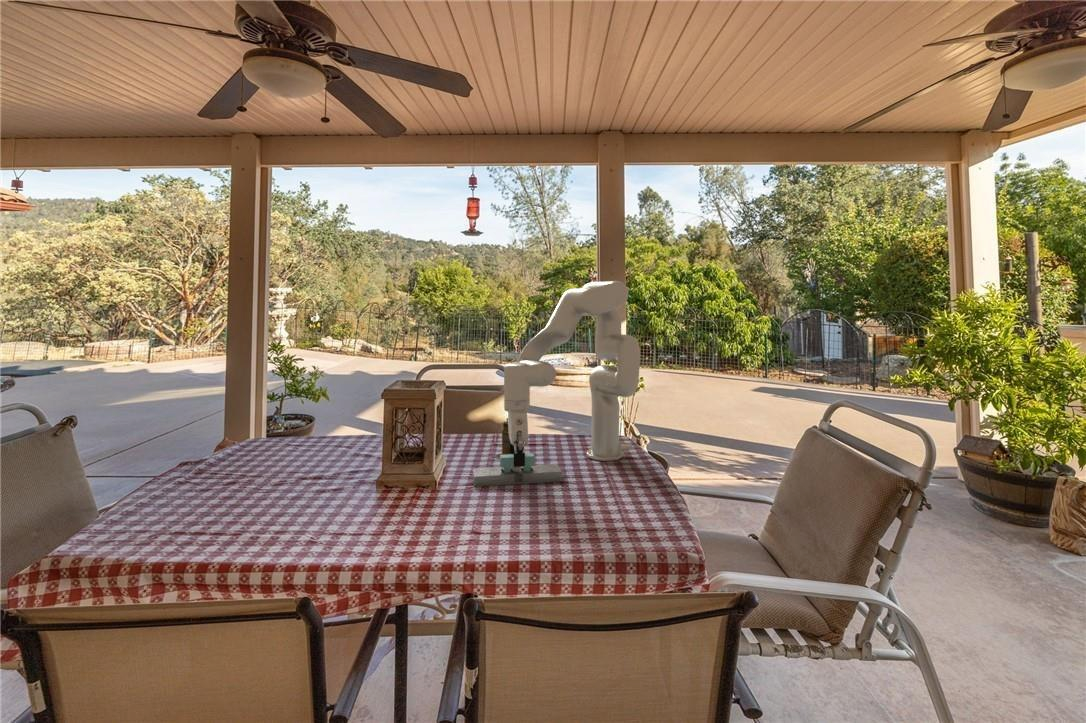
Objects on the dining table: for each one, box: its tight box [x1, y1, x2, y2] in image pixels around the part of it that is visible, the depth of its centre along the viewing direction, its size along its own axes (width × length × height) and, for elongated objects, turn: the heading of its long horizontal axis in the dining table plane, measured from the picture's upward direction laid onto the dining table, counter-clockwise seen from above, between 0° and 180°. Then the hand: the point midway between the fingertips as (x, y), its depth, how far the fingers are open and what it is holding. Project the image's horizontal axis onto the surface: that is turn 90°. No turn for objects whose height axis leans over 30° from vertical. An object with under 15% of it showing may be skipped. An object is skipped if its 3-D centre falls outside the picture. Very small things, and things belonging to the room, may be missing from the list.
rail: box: [472, 463, 563, 488], centre depth 149 cm, size 26×7×3 cm, turn 100°
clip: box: [499, 452, 535, 473], centre depth 148 cm, size 10×3×7 cm, turn 100°
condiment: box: [493, 420, 510, 460], centre depth 171 cm, size 7×8×12 cm
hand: (517, 461), depth 148 cm, fingers open, 9 cm apart
